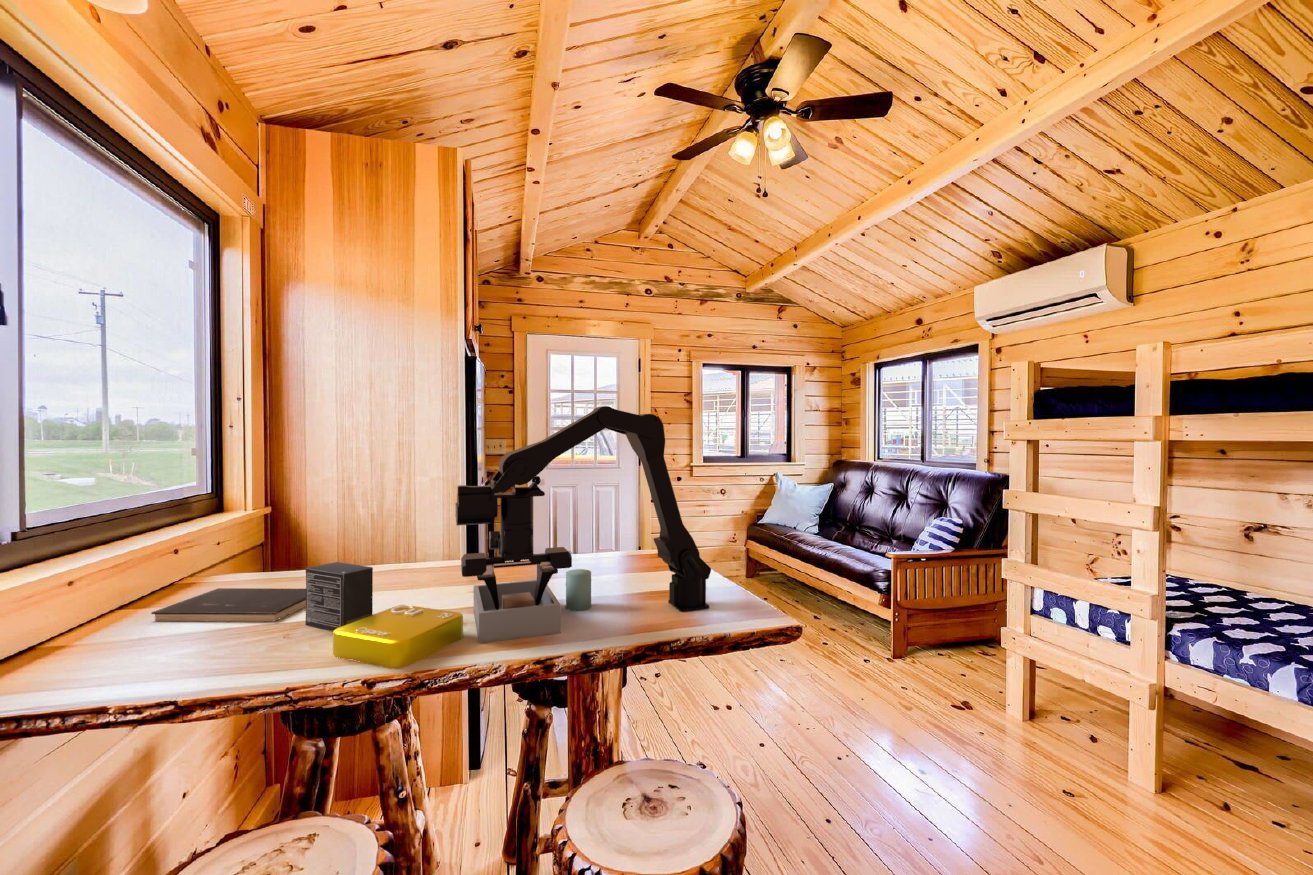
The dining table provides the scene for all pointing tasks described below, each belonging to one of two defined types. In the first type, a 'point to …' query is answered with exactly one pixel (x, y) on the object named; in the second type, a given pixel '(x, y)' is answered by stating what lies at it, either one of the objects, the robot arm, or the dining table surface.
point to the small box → (338, 594)
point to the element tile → (398, 636)
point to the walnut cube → (517, 600)
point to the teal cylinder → (578, 590)
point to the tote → (514, 613)
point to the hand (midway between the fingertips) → (517, 609)
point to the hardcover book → (236, 605)
